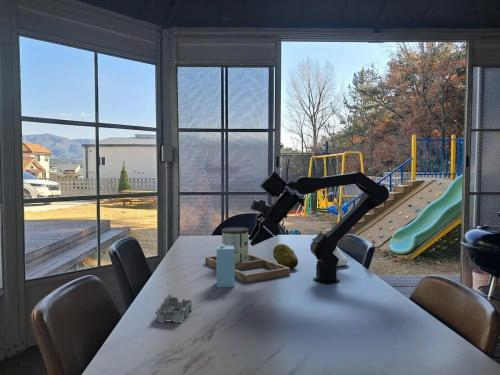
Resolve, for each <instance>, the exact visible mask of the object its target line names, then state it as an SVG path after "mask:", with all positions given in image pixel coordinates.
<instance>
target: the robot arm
mask: <svg viewBox="0 0 500 375" xmlns="http://www.w3.org/2000/svg"><path fill="white" fill-rule="evenodd" d="M349 185H351V186H352V185H355V186H356V187H357V188H358V189H359V190H360V191H361V192H362V194H361V196H360V198H359V200H358V202H357V203H356V204H355V205H354V206H353V207H352V208H351V209H350V210H349V211H348V212H347V213H346V214H344V215H345V216H344V217H341V219H340V220H339V221H337V224H336V225H334V226H333V227H332V228H330V229H331V230H330V231H329V232H328V231H326V232H325V233H324V232H322V231H320V232H318V234H317V235H316V236H315V237H314V238H312V239H311V241H312V242H311V243H310V246H309V247H310V248H309V249H310V252H311V253H312V255H313V256H314V257H315V259H316V265H315V268H316V269H315V277H312V278H313V281H316V282H319V283H322V284H325V285H328V284H329V285H330V284H333V283H339V282H341V280H340V279H339V278H337V277H338V276H337V275H338V274H337V271H338V268H337V267H338V266H337V264H338V261H339V259H338V258H337V257H336V256H335V255H334V254H333V252H334V251H335V249H336V247H337V248H338V245H339V242H340V241H341V240H342V239H343V238H344V237H345V236H346V234H348V233H349V232H350V231H351V230H352V229H353V228H354V226H356V224H358V223H359V222H360V221H361V220H362V219H363V218H364V217H365V215H366V214H367V213H369V212H370V211H372V210H373V209H376V208H378V207H379V206H381V205H382V204H384V203H385V202H386V201H387V200H389V197H390V191H389V189H388V187H386V186H385V185H383V184H379V183H378V182H376V181H374V180H373V179H371V178H370V177H368V176H367V175H365V173H363V172H362V171H353V172H348V173H343V174H335V175H326V176H321V177H318V176H317V177H316V176H297V177H295V178H294V180H292V181H291V180H290V181H288V180H287V181H285V180H284V179H283V178H282V177H281V176H280V175H279V173H278V172H276V171H272V172H271V174H270V175H268V176H267V177H266V178H264V180H263V181H262V182H261V183H260V184H259V187H260V188H262V190H264V191H265V192H266V193H267V195H269V196H270V197H271V198H275V197H276V198H278V199H276V201H274V202H272V203H270V204H267V203H266V202H267V201H265V200H263V199H259V200H257V199H252V202H251V205H250V209H251V210H252V211H256V212H258V213H257V215H256V217H255V226H254V227H253V229H252V231H251V233H250V234H249V235H248V241H251V242H250V244H249V245H251V247H254V246H256V245H257V244H260V243H262V242H265V241H267V240H270V239H272V238H275V237H277V236H278V235H279V234H280V233H281V228H280V223H281V222H282V221H283V220H285V219H287V218H288V217H289V216H288V215H289V214H290V212H291V211H292V210H293V209H295V207H296V206H297V205H300V206H301V207H305V197H300V195H309V194H312V193H316V192H317V191H321V190H323V189H327V188H335V187H343V186H349ZM288 189H289V190H294V192H290V191H289V190H288ZM298 194H299V195H298ZM318 260H319V261H318Z"/></svg>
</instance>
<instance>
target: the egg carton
mask: <svg viewBox="0 0 500 375" xmlns="http://www.w3.org/2000/svg"><path fill="white" fill-rule="evenodd" d="M193 302H194V299H188V300H186V299H184V298H183V299H182V301H179V299H178V297H176V296H171V294H168V295H167V296H166V297H165V298H164V301H163V302H162V303H161V304H160V306H159V307H158V308H157V309H156V311H155V312H154V314H155V315H156V320H157V319H158V320H159V321H160V322H163V321H166V320H171V321H173V322H178V321H183V320H184V321H185V317H184V316H188V317H189V313H190V312H189V311H192V312H193ZM177 309H180V310H177ZM159 321H158V322H159Z"/></svg>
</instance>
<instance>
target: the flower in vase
mask: <svg viewBox="0 0 500 375" xmlns="http://www.w3.org/2000/svg"><path fill="white" fill-rule="evenodd" d="M332 204H333V207H334V208H335V211H334V214H333V215H332V218H331V224H330V226H332V228H333V227H334V226H335V225H336V224H337V223H338V221H336V220H335V221H334V217H335V215H336V213H338V215H339V216H340V217H341V218H343V217H344V216H345V215H346V214H345V212H344V211H343V209H342V206H341V205H339V202H338V201H337V200H333V201H332ZM332 228H328V229H326V230H327V231H326V232H329V231H330V230H331V229H332ZM333 254H334V255H335V256H336V257H337V258H338V259H339V261H338V264H337V267H343V266H346V265H347V264H348V263H349V260H348V258H347V257H346V256H345V254H343V253H342V252H341V251H340V250H339V249H338V246H337V247H336V249H335V251H334V252H333ZM317 261H319V260H317Z"/></svg>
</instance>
